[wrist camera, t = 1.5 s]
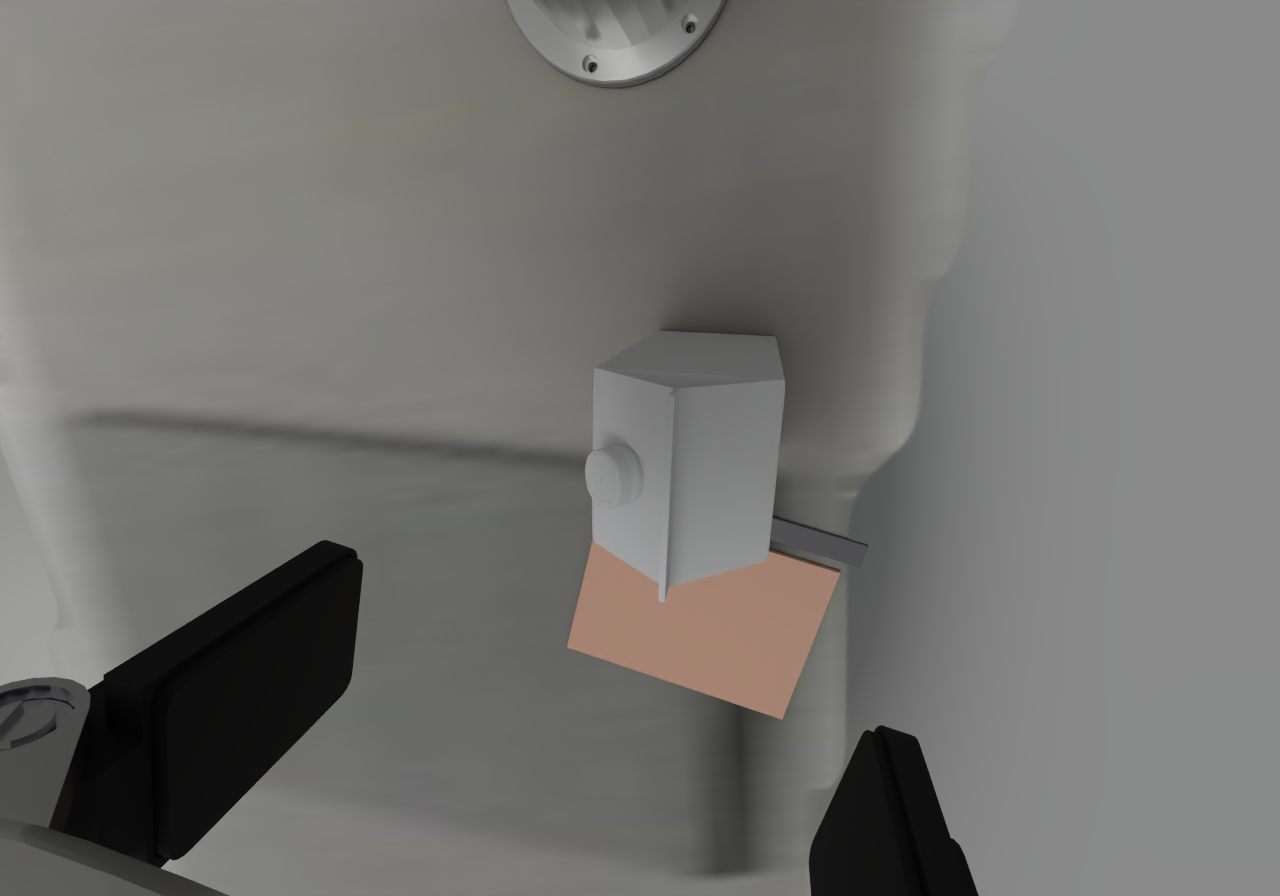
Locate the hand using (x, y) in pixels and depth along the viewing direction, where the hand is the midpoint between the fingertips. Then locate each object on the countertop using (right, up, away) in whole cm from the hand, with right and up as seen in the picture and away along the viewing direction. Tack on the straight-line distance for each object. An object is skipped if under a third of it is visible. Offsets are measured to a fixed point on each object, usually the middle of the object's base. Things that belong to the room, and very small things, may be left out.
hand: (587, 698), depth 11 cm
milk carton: (+5, +8, +27) cm, 28 cm away
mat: (+5, -7, +31) cm, 32 cm away
